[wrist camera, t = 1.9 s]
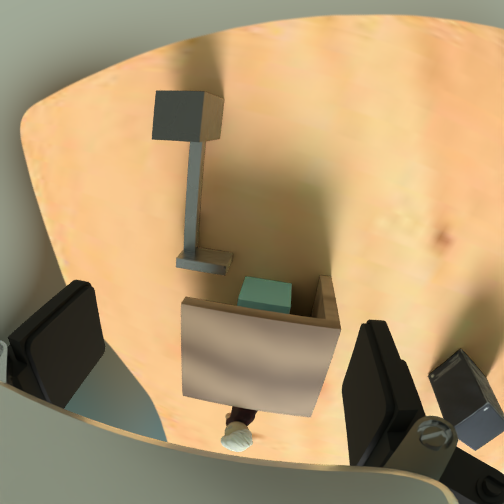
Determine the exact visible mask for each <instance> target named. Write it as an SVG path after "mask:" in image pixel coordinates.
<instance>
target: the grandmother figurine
mask: <svg viewBox="0 0 504 504" xmlns="http://www.w3.org/2000/svg"><path fill="white" fill-rule="evenodd" d="M257 411H258V410H252V409H246V408H240V407H234V406H233V407H232V411H231V413H227V414H226V426H227V427H226V429H225V436H223V437H222V438H221V443H222V445H223V446H224V447H226V448H227V449H229V450H231V451H236V452H240V451H244V450H245V449H246V448H248V447H250V446H251V445H252V444H253V441H252V433H251V432H250V431H249V429H248V427H247V426H248V425H249V424H250V423H251V422H252V421H253V420H254V418H255V414H256V413H257Z"/></svg>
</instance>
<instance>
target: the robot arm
mask: <svg viewBox="0 0 504 504" xmlns="http://www.w3.org/2000/svg"><path fill="white" fill-rule="evenodd" d="M8 339H9V342H10V345H9V346H8V347H7V345H6V344H5V342H3V341H1V340H0V504H504V474H502V473H501V472H500V471H498V470H496V469H495V468H493V467H491V466H489V465H487V464H486V463H484V462H482V461H480V460H479V459H477V458H475V457H473V456H472V455H470V454H468V453H467V452H465V451H463V450H461V449H460V448H458V447H456V446H457V442H458V435H457V432H456V430H455V428H454V427H453V426H452V424H451V423H450V422H448V421H447V420H445V419H443V418H440V417H437V416H426V415H425V412H424V409H423V407H422V404H421V401H420V398H419V395H418V393H417V390H416V387H415V384H414V382H413V379H412V376H411V374H410V371H409V369H408V366H407V364H406V362H405V361H404V360H401V359H400V356H399V353H398V351H397V348H396V346H395V343H394V341H393V338H392V336H391V333H390V331H389V328H388V326H387V323H386V321H382V320H368V321H367V323H366V324H364V323H363V324H362V325H361V327H360V330H359V334H358V337H357V340H356V344H355V347H354V350H353V353H352V357H351V360H350V363H349V366H348V369H347V372H346V375H345V378H344V381H343V385H342V397H343V405H344V413H345V421H346V430H347V440H348V450H349V460H350V466H345V465H321V464H305V463H292V462H282V461H271V460H262V459H254V458H247V457H239V456H233V455H227V454H221V453H215V452H210V451H205V450H199V449H195V448H190V447H185V446H181V445H176V444H172V443H168V442H164V441H160V440H156V439H152V438H148V437H145V436H141V435H138V434H134V433H131V432H128V431H124V430H121V429H118V428H115V427H111V426H109V425H106V424H103V423H100V422H97V421H94V420H91V419H89V418H86V417H83V416H80V415H78V414H75V413H73V412H70V411H67V410H65V409H64V408H65V406H66V405H67V403H68V402H69V401H70V399H71V398H72V396H73V395H74V394H75V392H76V391H77V389H78V388H79V387H80V385H81V384H82V382H83V381H84V380H85V378H86V377H87V376H88V374H89V373H90V372H91V370H92V369H93V368H94V366H95V365H96V364H97V362H98V361H99V359H100V358H101V357H102V355H103V354H104V351H105V343H104V339H103V334H102V329H101V324H100V319H99V313H98V308H97V302H96V296H95V290H94V288H93V287H91V284H90V283H89V282H86V281H81V280H74V281H72V282H71V283H70V284H69V285H67V286H66V287H65V288H64V289H63V290H61V291H60V292H59V293H58V294H57V295H55V296H54V297H53V298H52V299H51V300H50V301H48V302H47V303H46V304H45V305H44V306H42V307H41V308H40V309H39V310H38V311H37V312H35V313H34V314H33V315H32V316H31V317H30V318H29V319H28V320H27V321H25V322H24V323H23V324H22V325H21V326H20V327H18V328H17V329H16V330H15V331H14V332H13V333H12V334H11V335H10V336H9V337H8Z"/></svg>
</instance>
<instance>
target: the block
mask: <svg viewBox="0 0 504 504" xmlns="http://www.w3.org/2000/svg"><path fill="white" fill-rule="evenodd" d="M291 290H292V283H285V282H279V281H273V280H266V279H260V278H254V277H247V276H245V279H244V282H243V285H242V288H241V291H240V294H239V297H238V302H237V306H241V307H247V308H253V309H259V310H265V311H271V312H278V313H284V314H289V313H290V308H291Z"/></svg>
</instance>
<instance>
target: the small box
mask: <svg viewBox="0 0 504 504" xmlns="http://www.w3.org/2000/svg"><path fill="white" fill-rule="evenodd" d="M428 377H429V380H430V383H431V385H432V388H433V390H434V393H435V396H436V399H437V401H438V404H439V407H440V410H441V413H442V416H443V419H445V420H447V421H448V422H450V423H451V424H452V426H453V427H454V428H455V430H456V432H457V435H458V439H459V440H461V441H462V442H463V443H465V444H466V445H468V446H469V447H471V448H472V449H473V450H475V451H476V450H477V449H479V448H480V447H482V446H483V445H485V444H486V443H488V442H489V441H491V440H492V439H494V438H495V437H496V436H498V435H499V434H501V433H502V432H503V431H504V413H503V411H502V409H501V407H500V405H499V403H498V401H497V399H496V397H495V395H494V393H493V391H492V389H491V387H490V385H489V382H488V380H487V378H486V377H485V376H484V375H483V373H482V372H481V371H480V369H479V368H478V367H477V366H476V365H475V364H474V362H473V361H472V360H471V359H470V358H469V357H468V355H467V354H466V353H465V352H464V351H463V350H462V349H460V350H459V351H457V352H456V353H455V354H454V355H453V356H452V357H450V358H449V359H448V360H447V361H446V362H444V363H443V364H442V365H441V366H439V367H438V368H437V369H435V370H434V371H433V372H432V373H431V374H429V375H428Z"/></svg>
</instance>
